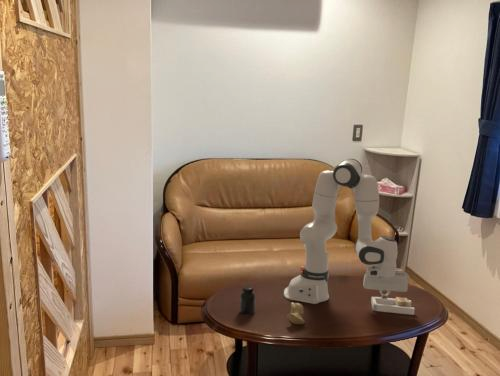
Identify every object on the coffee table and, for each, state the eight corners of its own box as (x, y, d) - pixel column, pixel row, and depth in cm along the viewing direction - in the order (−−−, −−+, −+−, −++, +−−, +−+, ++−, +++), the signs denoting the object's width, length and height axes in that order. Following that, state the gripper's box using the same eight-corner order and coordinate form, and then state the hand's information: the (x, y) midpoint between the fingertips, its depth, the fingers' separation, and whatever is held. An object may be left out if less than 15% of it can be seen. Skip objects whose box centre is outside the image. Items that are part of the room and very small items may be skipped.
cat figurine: (288, 313, 196) (291, 295, 206) (283, 325, 199) (286, 306, 210) (306, 320, 196) (308, 301, 206) (301, 331, 199) (303, 312, 210)
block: (396, 311, 216) (397, 301, 215) (394, 306, 221) (395, 296, 220) (407, 312, 215) (408, 302, 214) (405, 307, 220) (406, 298, 219)
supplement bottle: (247, 307, 214) (248, 283, 212) (257, 312, 209) (258, 287, 207) (236, 311, 209) (237, 286, 207) (246, 316, 204) (248, 291, 202)
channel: (373, 310, 216) (373, 304, 215) (371, 302, 225) (371, 296, 224) (413, 314, 213) (414, 308, 212) (410, 306, 222) (410, 300, 221)
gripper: (408, 270, 217) (406, 297, 219) (363, 266, 220) (362, 294, 223) (410, 274, 210) (408, 303, 213) (364, 271, 214) (362, 299, 216)
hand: (384, 298), depth 218 cm, fingers closed
